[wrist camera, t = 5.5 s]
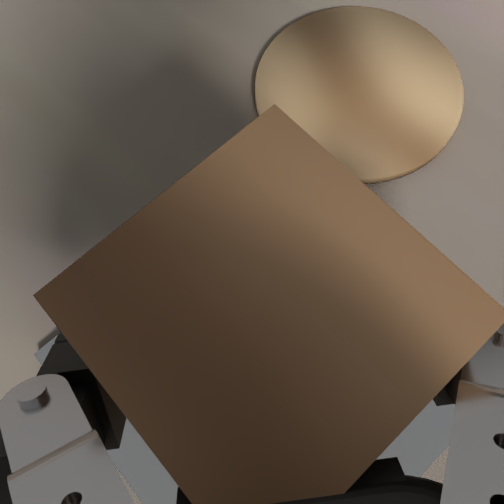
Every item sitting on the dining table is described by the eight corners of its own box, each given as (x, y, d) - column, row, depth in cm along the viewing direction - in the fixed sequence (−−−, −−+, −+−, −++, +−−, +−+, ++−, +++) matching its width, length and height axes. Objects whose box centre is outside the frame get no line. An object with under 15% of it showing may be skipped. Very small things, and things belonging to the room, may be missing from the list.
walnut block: (268, 268, 17) (271, 101, 8) (366, 369, 16) (511, 315, 7) (167, 358, 16) (30, 292, 7) (262, 474, 15) (256, 587, 6)
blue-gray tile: (274, 161, 19) (274, 155, 19) (504, 377, 16) (510, 376, 16) (39, 355, 17) (33, 354, 17) (256, 651, 14) (256, 659, 13)
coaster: (352, -15, 22) (354, -24, 22) (501, 96, 20) (507, 88, 20) (213, 90, 21) (213, 82, 20) (359, 225, 18) (362, 220, 18)
